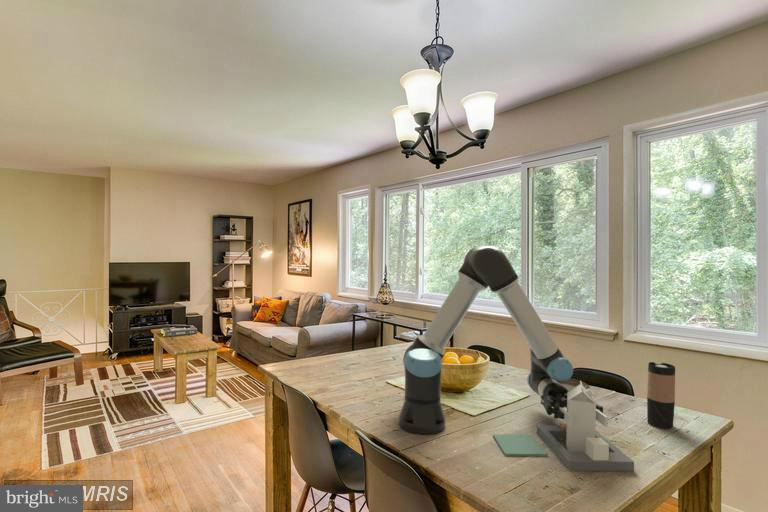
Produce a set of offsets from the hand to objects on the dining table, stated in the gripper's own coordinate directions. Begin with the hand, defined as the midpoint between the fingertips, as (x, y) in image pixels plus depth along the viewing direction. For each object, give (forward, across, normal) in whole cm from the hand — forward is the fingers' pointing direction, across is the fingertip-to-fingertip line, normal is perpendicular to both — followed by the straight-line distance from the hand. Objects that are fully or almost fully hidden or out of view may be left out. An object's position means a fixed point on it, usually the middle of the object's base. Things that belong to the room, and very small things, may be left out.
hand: (588, 421), depth 114 cm
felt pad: (-6, +17, -10) cm, 21 cm away
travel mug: (-22, -36, -10) cm, 44 cm away
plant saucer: (-55, -18, -10) cm, 59 cm away
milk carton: (-4, 0, -10) cm, 11 cm away
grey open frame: (-4, 0, -10) cm, 11 cm away
